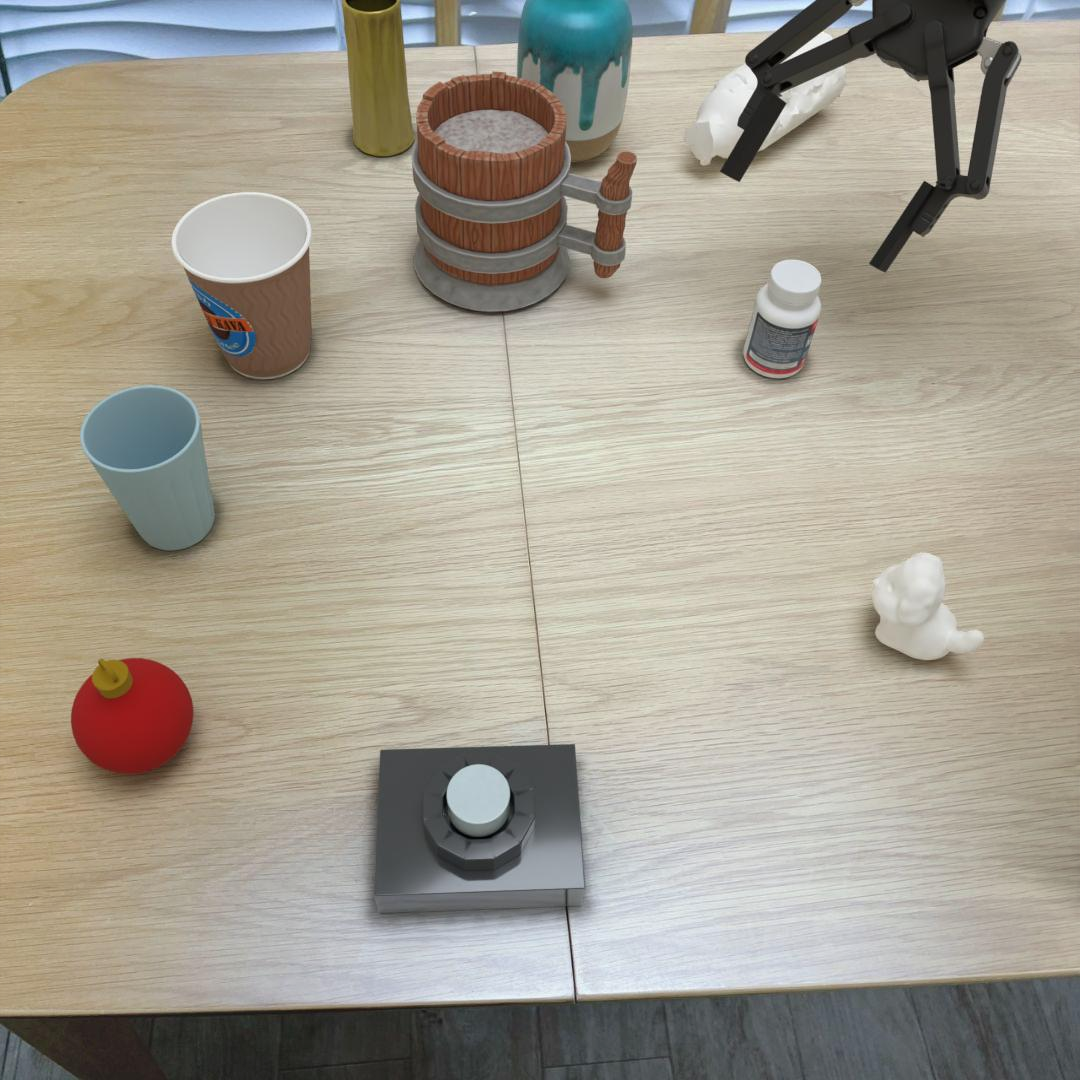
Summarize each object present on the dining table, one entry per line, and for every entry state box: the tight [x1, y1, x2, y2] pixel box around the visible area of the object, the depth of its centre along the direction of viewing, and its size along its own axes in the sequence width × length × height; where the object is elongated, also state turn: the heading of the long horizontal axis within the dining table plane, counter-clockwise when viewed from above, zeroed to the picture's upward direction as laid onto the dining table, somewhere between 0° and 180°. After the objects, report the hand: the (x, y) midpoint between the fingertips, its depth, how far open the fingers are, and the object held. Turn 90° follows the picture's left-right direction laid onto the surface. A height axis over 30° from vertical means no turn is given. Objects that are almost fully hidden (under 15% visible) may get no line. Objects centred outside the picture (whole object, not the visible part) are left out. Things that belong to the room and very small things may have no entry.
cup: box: [79, 384, 216, 552], centre depth 76 cm, size 8×8×10 cm
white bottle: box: [683, 31, 848, 166], centre depth 108 cm, size 8×19×8 cm, turn 136°
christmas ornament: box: [70, 657, 194, 775], centre depth 66 cm, size 7×7×10 cm
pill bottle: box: [742, 259, 822, 379], centre depth 89 cm, size 5×5×9 cm
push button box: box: [373, 743, 586, 914], centre depth 65 cm, size 12×9×5 cm
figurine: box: [871, 551, 985, 661], centre depth 74 cm, size 5×8×8 cm
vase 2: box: [516, 0, 634, 163], centre depth 101 cm, size 11×11×19 cm
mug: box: [411, 70, 638, 313], centre depth 92 cm, size 14×19×15 cm
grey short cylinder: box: [447, 764, 510, 837], centre depth 63 cm, size 4×4×2 cm
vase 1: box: [341, 0, 415, 157], centre depth 103 cm, size 6×6×14 cm
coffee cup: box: [171, 191, 313, 380], centre depth 86 cm, size 10×10×12 cm
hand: (801, 222), depth 82 cm, fingers open, 13 cm apart
